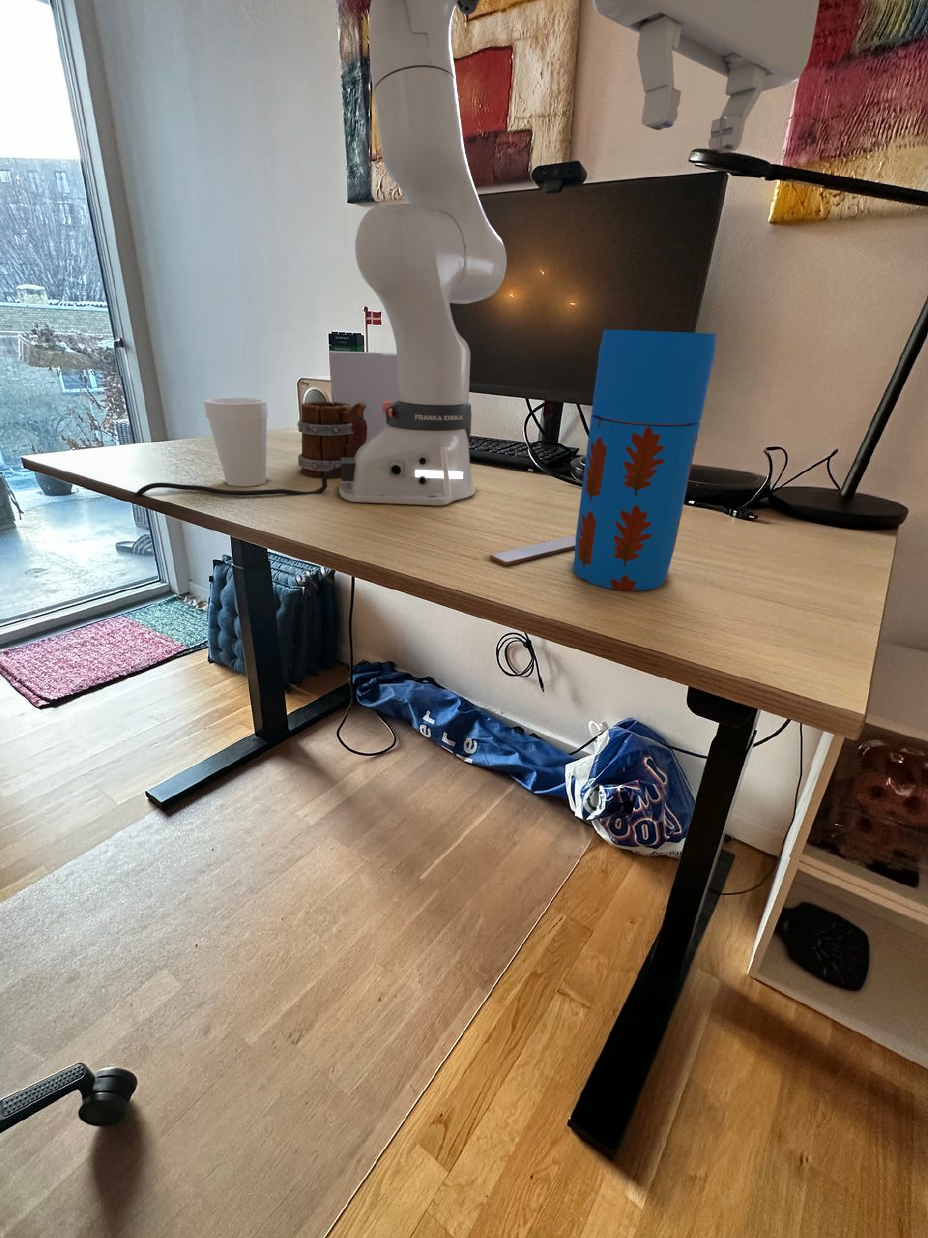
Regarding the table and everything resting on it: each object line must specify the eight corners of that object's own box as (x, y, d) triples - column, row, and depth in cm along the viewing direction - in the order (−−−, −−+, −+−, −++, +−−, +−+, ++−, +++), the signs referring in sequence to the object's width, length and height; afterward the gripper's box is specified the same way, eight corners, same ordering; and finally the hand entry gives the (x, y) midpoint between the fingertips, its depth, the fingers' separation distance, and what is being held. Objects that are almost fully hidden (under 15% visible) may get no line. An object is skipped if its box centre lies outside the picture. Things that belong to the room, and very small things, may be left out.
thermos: (672, 596, 61) (728, 333, 50) (570, 585, 63) (602, 329, 52) (661, 561, 71) (707, 334, 60) (573, 552, 73) (601, 330, 62)
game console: (467, 458, 124) (471, 356, 115) (337, 460, 117) (331, 351, 108) (459, 452, 129) (463, 354, 120) (335, 455, 122) (328, 350, 113)
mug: (328, 459, 116) (333, 381, 108) (381, 483, 110) (391, 402, 102) (281, 468, 107) (282, 383, 99) (336, 495, 101) (343, 407, 93)
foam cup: (234, 474, 103) (223, 396, 97) (284, 477, 102) (276, 399, 96) (205, 486, 95) (192, 402, 89) (259, 490, 94) (249, 405, 88)
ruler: (506, 566, 68) (506, 562, 67) (489, 558, 70) (490, 554, 70) (663, 526, 84) (663, 523, 84) (646, 521, 86) (646, 518, 86)
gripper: (776, -60, 43) (731, 172, 49) (586, -211, 31) (559, 116, 38) (870, -103, 38) (807, 159, 44) (688, -297, 27) (637, 89, 33)
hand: (692, 138), depth 41 cm, fingers open, 6 cm apart
